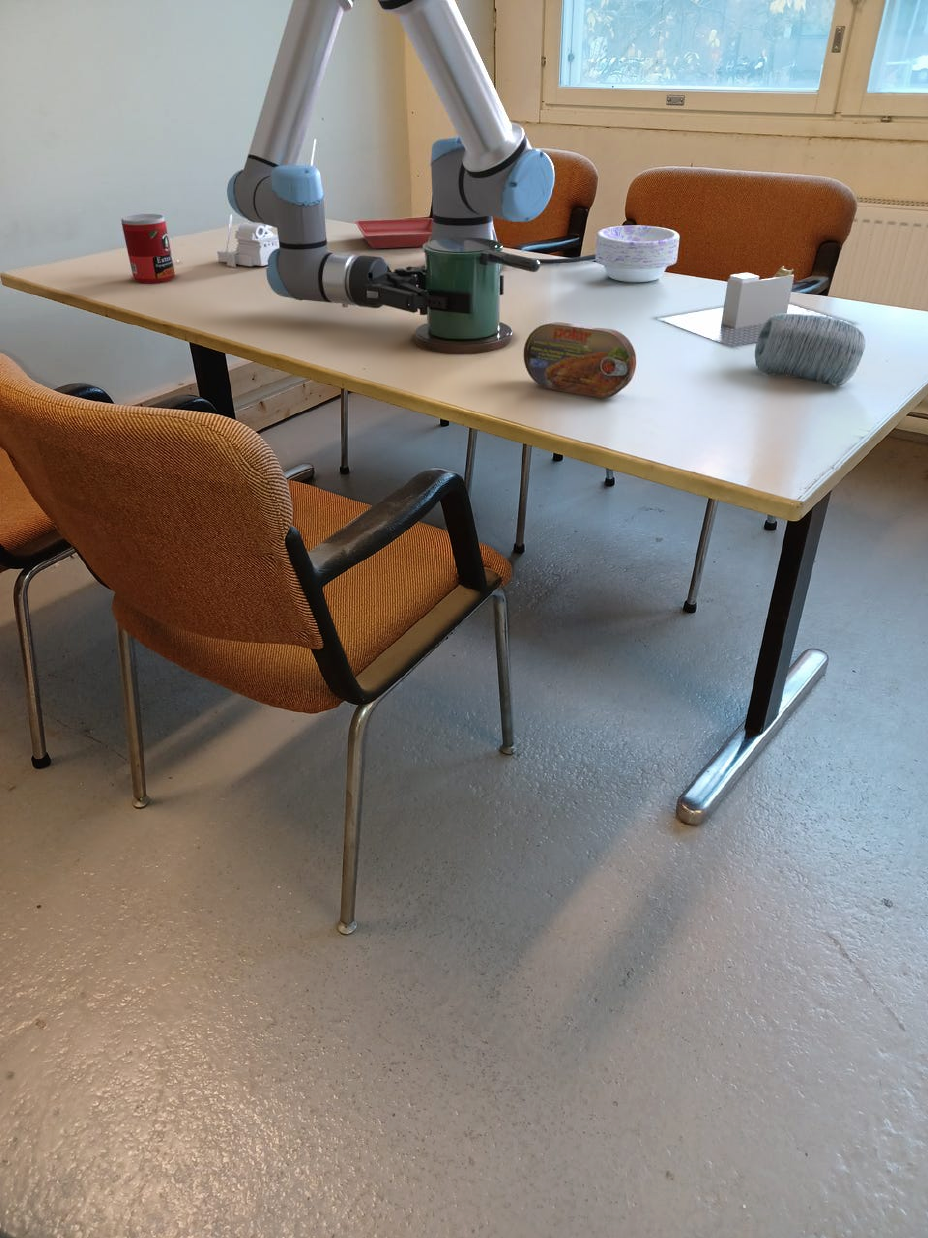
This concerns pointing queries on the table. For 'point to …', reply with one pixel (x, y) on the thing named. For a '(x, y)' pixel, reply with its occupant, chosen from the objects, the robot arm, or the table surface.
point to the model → (743, 309)
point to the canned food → (148, 248)
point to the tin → (580, 359)
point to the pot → (468, 283)
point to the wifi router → (252, 242)
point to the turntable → (463, 341)
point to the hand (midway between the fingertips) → (487, 294)
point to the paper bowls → (636, 252)
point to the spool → (809, 348)
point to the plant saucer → (396, 232)
